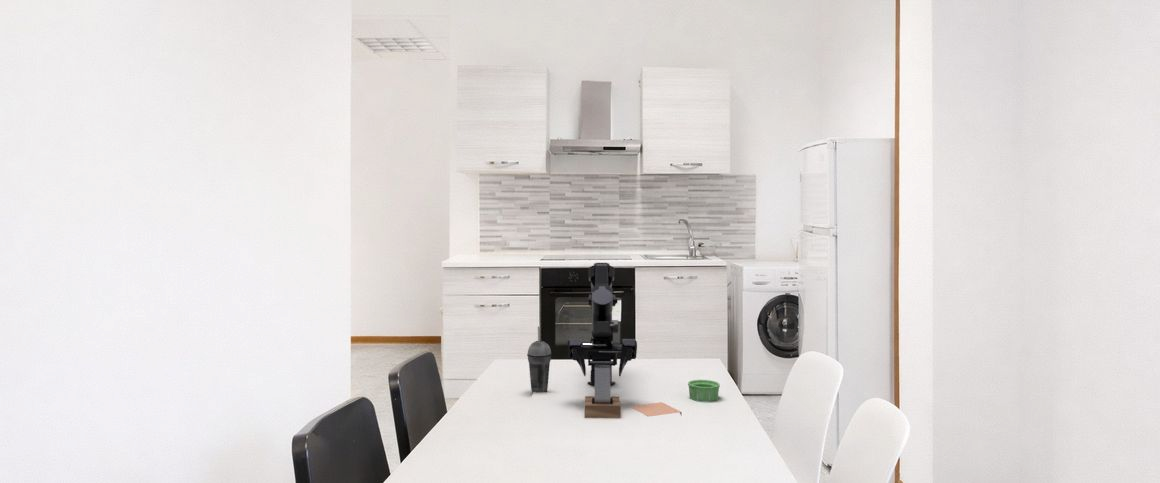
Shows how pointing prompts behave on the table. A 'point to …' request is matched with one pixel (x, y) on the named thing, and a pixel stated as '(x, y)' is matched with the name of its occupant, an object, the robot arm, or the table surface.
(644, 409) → the mat
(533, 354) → the beverage cup
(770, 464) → the table surface
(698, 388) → the ramekin
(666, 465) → the table surface
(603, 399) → the peg
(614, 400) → the socket block
